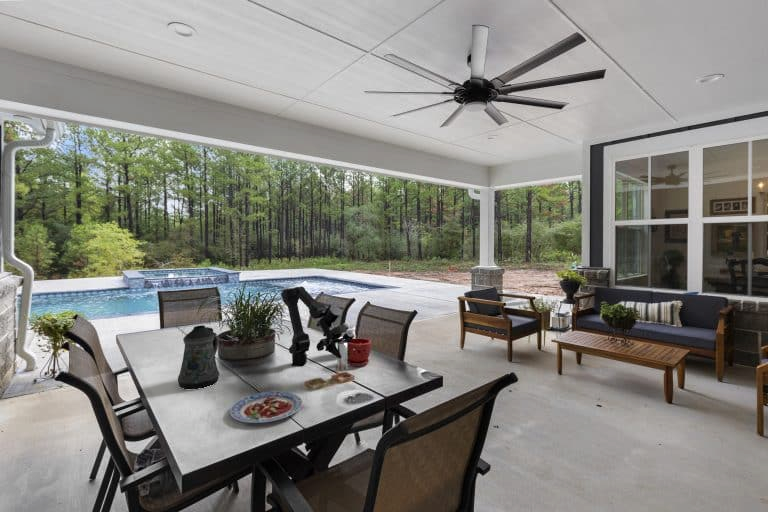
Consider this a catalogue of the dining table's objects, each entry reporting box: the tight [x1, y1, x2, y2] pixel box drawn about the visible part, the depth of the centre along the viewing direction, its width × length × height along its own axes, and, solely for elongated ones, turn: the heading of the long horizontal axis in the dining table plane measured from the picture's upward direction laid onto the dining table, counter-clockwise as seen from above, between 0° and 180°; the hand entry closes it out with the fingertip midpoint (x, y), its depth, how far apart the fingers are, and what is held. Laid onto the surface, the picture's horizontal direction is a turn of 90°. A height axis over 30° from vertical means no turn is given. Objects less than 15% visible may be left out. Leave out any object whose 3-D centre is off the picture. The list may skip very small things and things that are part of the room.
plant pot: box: [347, 337, 372, 367], centre depth 193 cm, size 13×13×12 cm
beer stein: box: [177, 324, 220, 390], centre depth 168 cm, size 16×19×25 cm
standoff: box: [337, 342, 349, 372], centre depth 170 cm, size 4×4×12 cm
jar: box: [336, 325, 356, 346], centre depth 208 cm, size 11×10×15 cm
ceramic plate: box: [229, 390, 304, 424], centre depth 140 cm, size 26×26×3 cm
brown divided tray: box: [302, 371, 357, 392], centre depth 166 cm, size 22×8×2 cm, turn 126°
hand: (344, 356), depth 169 cm, fingers closed on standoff, 4 cm apart
